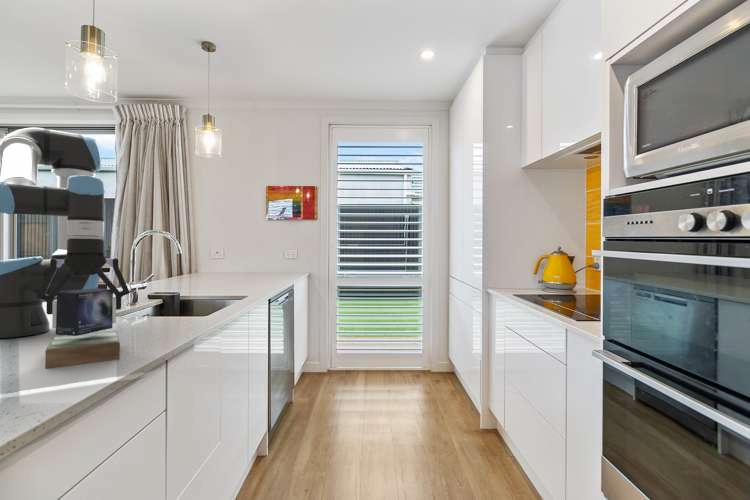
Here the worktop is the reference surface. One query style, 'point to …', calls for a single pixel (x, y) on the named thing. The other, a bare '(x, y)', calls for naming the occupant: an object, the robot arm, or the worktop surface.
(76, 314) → the small box
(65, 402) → the worktop surface
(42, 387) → the worktop surface
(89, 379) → the worktop surface
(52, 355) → the base block
